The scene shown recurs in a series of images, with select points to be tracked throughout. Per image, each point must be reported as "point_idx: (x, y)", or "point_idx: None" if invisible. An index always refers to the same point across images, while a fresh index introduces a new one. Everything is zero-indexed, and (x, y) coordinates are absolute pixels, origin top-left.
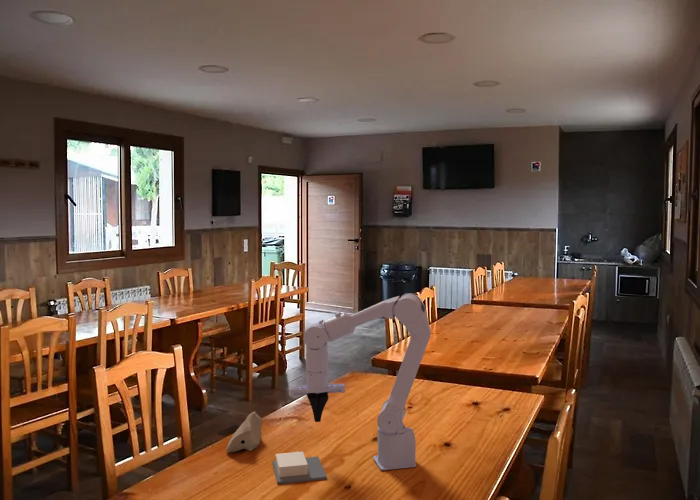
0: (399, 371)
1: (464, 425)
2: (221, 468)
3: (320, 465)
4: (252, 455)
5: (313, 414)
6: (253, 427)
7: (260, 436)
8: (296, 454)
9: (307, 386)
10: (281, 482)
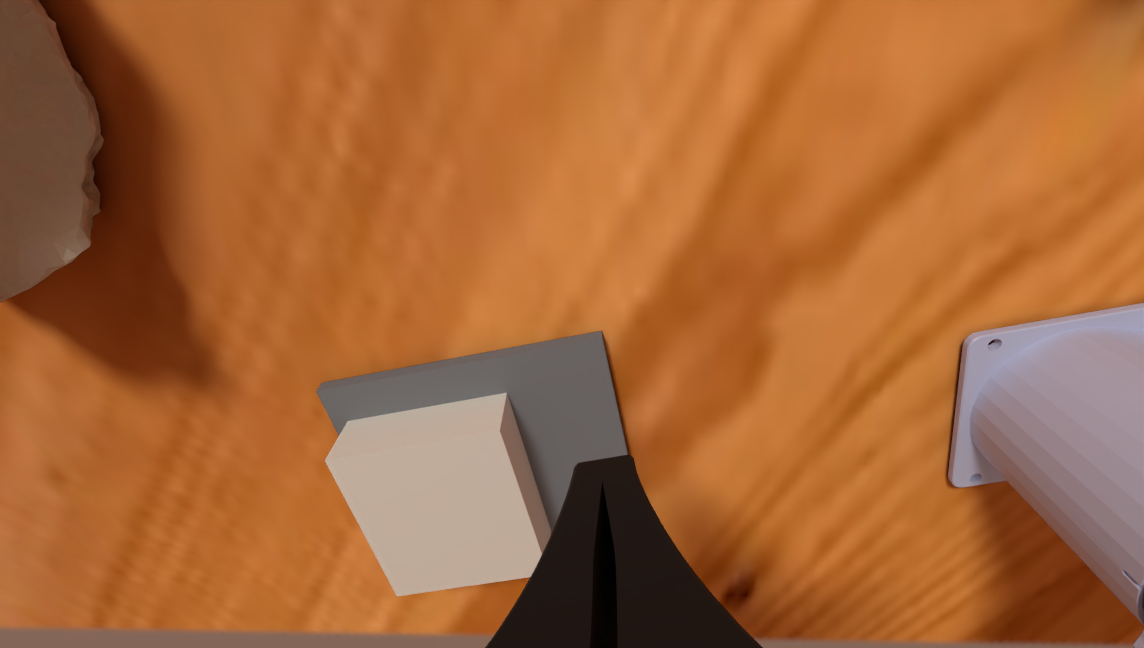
0: None
1: None
2: (52, 434)
3: (617, 448)
4: (143, 274)
5: (565, 501)
6: None
7: (34, 21)
8: (464, 469)
9: None
10: None
